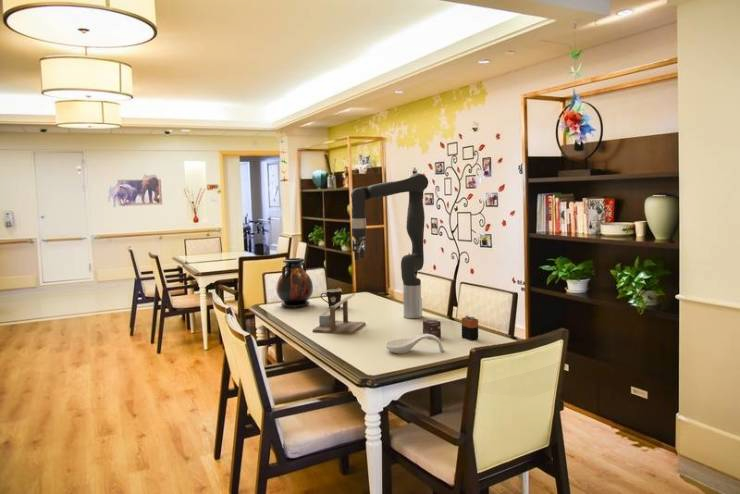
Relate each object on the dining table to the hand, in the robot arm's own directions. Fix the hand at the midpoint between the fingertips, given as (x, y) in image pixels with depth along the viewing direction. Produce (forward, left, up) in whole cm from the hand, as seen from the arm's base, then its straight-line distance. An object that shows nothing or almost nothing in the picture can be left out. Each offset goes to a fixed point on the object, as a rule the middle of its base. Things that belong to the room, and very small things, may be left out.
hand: (359, 258), depth 281 cm
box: (-42, +24, -32) cm, 58 cm away
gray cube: (+10, +18, -28) cm, 35 cm away
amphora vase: (+50, -27, -32) cm, 66 cm away
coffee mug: (+27, -28, -32) cm, 51 cm away
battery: (-59, +23, -32) cm, 71 cm away
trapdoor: (+5, +18, -20) cm, 27 cm away
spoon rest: (-39, +48, -33) cm, 70 cm away
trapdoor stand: (+5, +18, -32) cm, 37 cm away
